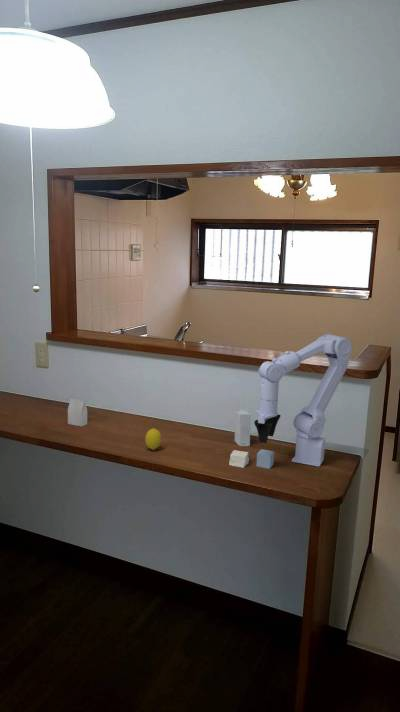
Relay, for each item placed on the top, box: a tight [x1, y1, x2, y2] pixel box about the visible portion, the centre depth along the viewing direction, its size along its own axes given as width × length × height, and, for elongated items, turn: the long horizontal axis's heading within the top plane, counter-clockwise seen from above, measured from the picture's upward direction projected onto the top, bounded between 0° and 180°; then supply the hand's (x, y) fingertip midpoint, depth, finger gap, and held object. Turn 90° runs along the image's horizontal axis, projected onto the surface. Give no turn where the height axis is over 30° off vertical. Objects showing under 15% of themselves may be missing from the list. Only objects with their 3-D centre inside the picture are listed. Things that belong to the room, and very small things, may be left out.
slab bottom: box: [228, 457, 250, 469], centre depth 170 cm, size 5×5×2 cm
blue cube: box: [256, 448, 275, 470], centre depth 170 cm, size 4×4×4 cm
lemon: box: [145, 427, 162, 451], centre depth 180 cm, size 6×6×8 cm
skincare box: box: [234, 409, 252, 447], centre depth 189 cm, size 6×4×12 cm
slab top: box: [229, 449, 249, 463], centre depth 170 cm, size 5×5×2 cm
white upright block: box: [67, 398, 88, 427], centre depth 206 cm, size 4×7×10 cm, turn 66°
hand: (266, 439), depth 168 cm, fingers open, 7 cm apart
